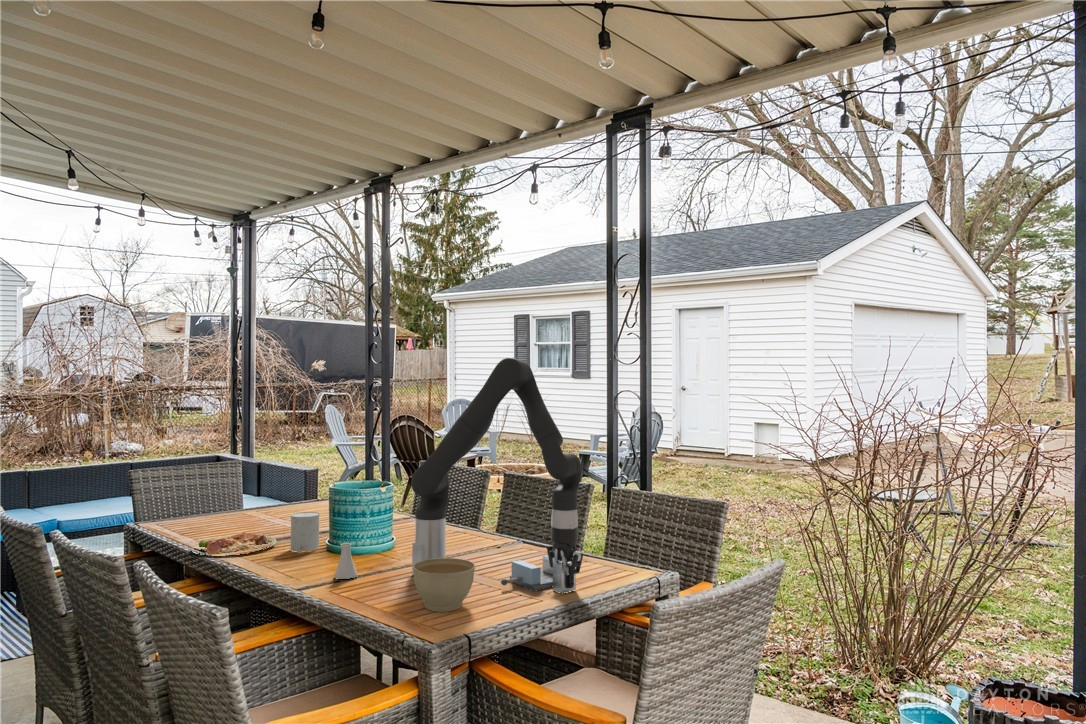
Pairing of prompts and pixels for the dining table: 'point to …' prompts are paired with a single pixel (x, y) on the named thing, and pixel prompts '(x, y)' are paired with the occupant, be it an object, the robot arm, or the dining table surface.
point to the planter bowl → (443, 582)
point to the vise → (545, 577)
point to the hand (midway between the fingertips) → (564, 585)
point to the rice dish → (236, 543)
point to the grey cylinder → (304, 531)
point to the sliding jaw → (524, 573)
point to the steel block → (561, 578)
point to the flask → (345, 564)
